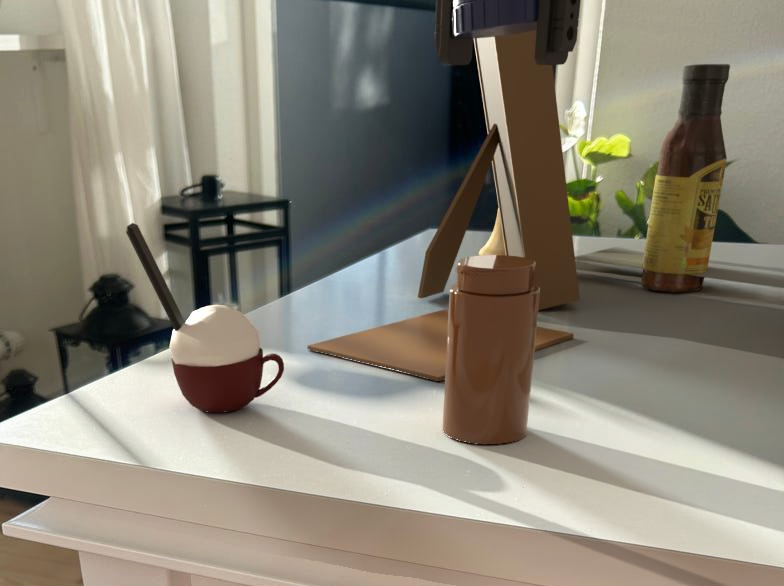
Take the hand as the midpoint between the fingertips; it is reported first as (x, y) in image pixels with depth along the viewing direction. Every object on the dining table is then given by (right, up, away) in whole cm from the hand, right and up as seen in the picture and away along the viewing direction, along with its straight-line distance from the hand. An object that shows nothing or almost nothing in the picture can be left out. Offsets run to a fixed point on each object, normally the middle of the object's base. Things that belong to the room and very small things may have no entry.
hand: (501, 63), depth 57 cm
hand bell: (+14, +13, +64) cm, 66 cm away
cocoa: (-17, -16, +15) cm, 28 cm away
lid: (0, +3, -1) cm, 3 cm away
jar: (+1, -19, +9) cm, 21 cm away
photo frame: (+8, +4, +48) cm, 49 cm away
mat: (0, -7, +28) cm, 29 cm away
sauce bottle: (+26, +3, +46) cm, 53 cm away
